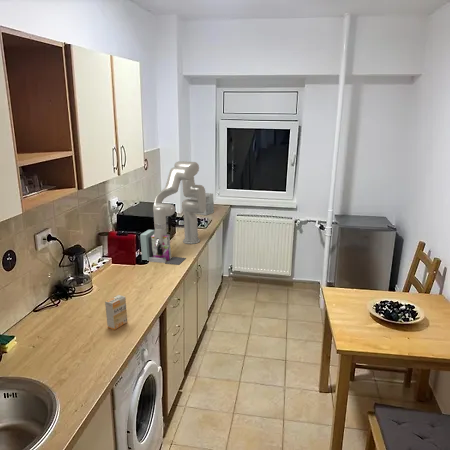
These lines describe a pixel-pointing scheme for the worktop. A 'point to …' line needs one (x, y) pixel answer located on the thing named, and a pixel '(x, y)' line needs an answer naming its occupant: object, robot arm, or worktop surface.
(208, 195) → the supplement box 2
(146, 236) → the dispenser
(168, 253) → the candy bar box
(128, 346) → the worktop surface
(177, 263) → the mat
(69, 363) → the worktop surface
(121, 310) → the supplement box
